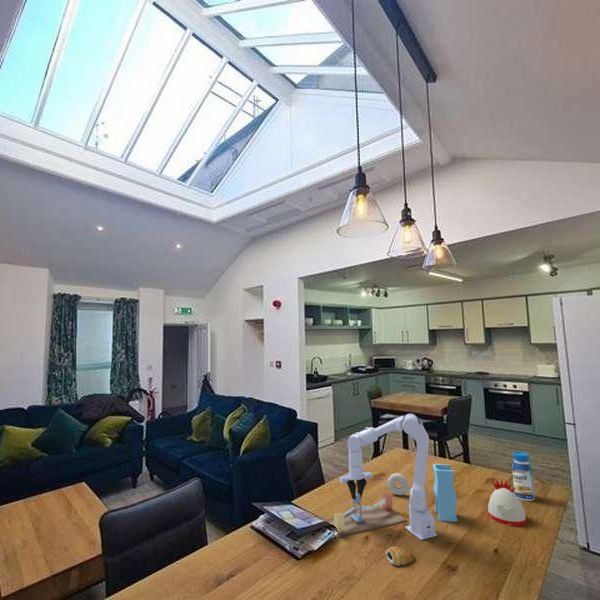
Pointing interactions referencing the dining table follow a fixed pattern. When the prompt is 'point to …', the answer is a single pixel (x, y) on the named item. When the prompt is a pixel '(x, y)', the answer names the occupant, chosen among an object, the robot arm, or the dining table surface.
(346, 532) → the tan flat sheet
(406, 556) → the pastry
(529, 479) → the beverage bottle
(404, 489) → the donut
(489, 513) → the kitchen timer
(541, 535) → the dining table surface
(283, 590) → the dining table surface
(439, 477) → the vase
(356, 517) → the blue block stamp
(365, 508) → the jointed linkage mechanism
